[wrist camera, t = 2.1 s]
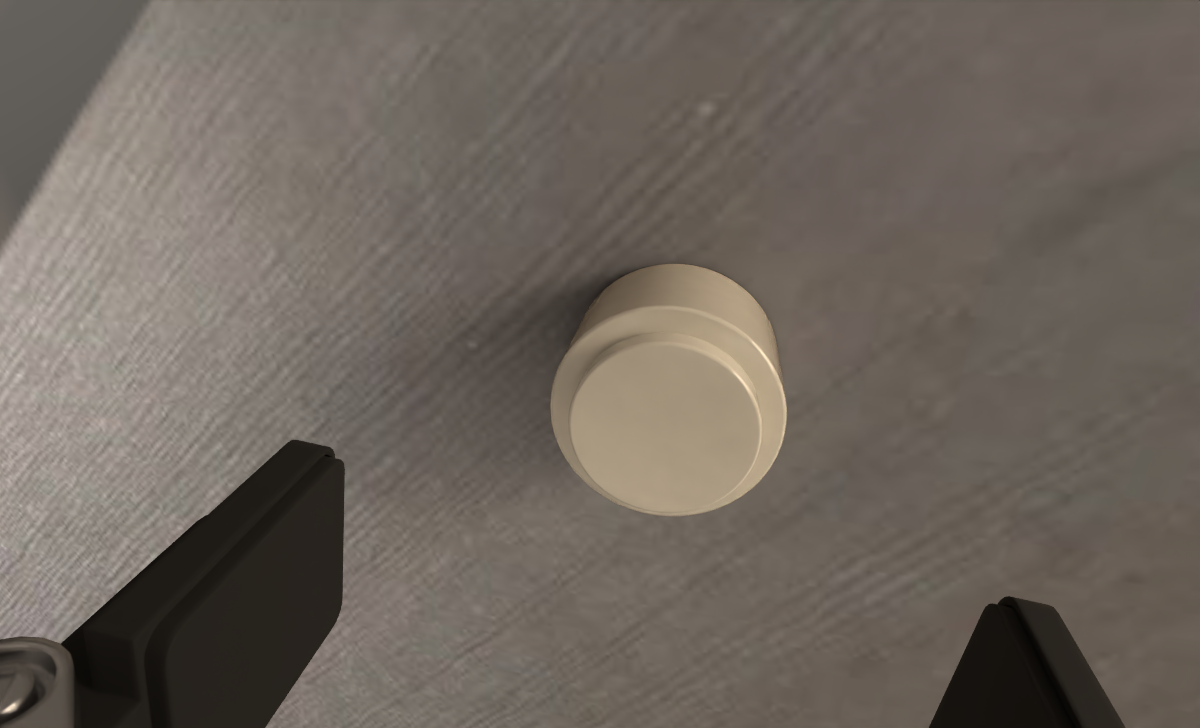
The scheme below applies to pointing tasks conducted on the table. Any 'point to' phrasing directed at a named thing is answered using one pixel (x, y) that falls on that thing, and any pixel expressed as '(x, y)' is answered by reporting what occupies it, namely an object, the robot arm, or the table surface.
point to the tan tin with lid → (671, 392)
